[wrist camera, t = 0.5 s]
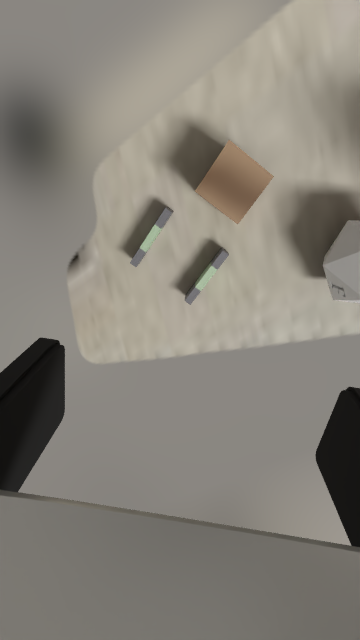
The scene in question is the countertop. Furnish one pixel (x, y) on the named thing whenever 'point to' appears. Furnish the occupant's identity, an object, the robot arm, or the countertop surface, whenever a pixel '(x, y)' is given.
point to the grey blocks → (204, 276)
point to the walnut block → (233, 182)
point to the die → (344, 264)
